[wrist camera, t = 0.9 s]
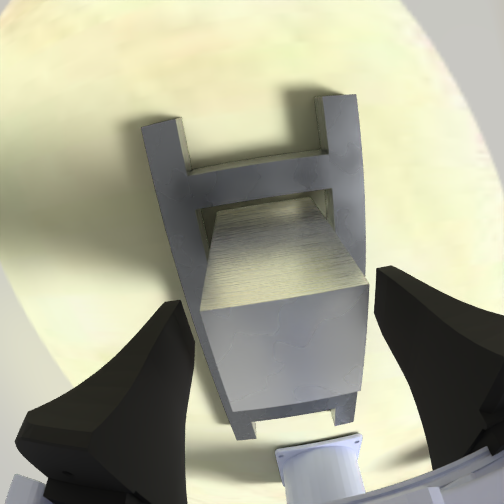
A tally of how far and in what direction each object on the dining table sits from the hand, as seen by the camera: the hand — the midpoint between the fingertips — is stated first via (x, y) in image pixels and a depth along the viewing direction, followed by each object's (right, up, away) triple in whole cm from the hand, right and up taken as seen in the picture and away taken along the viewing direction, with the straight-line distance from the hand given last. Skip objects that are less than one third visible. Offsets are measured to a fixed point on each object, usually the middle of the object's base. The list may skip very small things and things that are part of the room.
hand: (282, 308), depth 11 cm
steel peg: (0, +2, +5) cm, 5 cm away
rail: (0, -1, +7) cm, 7 cm away
